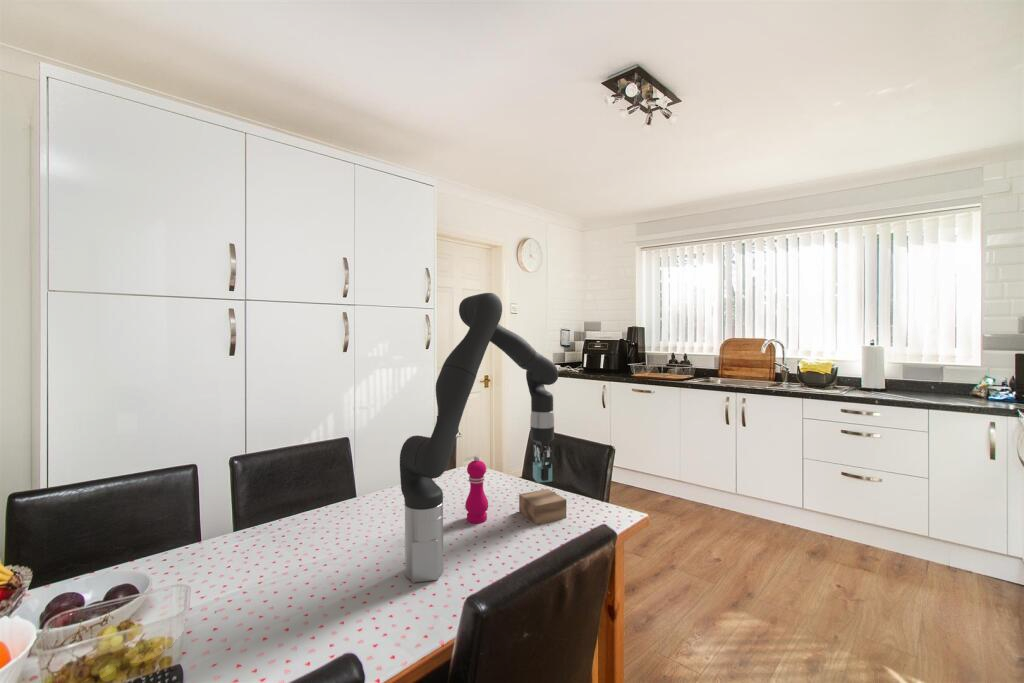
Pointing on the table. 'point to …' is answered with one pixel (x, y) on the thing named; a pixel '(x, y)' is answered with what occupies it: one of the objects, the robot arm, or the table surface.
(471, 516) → the pepper mill
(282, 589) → the table surface
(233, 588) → the table surface
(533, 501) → the walnut box
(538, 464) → the teal cube
